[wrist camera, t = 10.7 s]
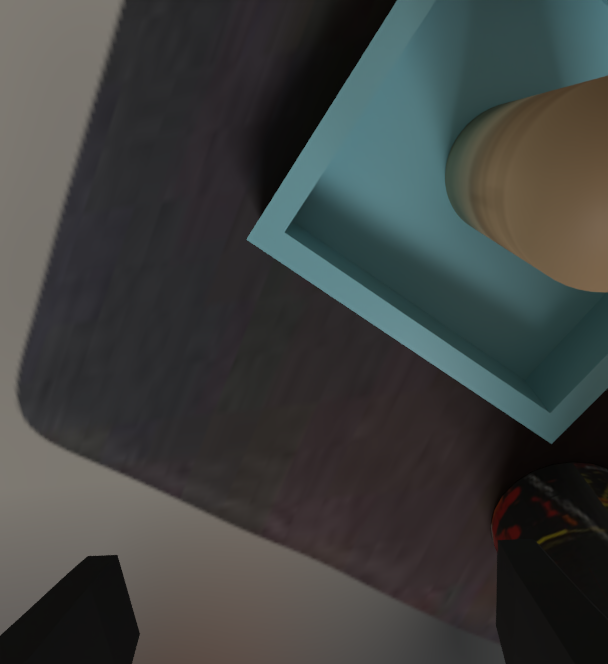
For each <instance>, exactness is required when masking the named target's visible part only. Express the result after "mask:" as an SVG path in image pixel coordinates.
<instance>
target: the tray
mask: <svg viewBox="0 0 608 664" xmlns="http://www.w3.org/2000/svg"><path fill="white" fill-rule="evenodd" d="M604 76H608V0H397V1H396V3H395V5H394V6H393V8H392V9H391V11H390V12H389V14H388V16H387V17H386V19H385V20H384V22H383V24H382V25H381V27H380V28H379V30H378V31H377V33H376V35H375V36H374V38H373V39H372V41H371V43H370V44H369V46H368V47H367V49H366V51H365V52H364V54H363V55H362V57H361V58H360V60H359V62H358V63H357V65H356V66H355V68H354V70H353V71H352V73H351V74H350V76H349V78H348V79H347V81H346V82H345V84H344V85H343V87H342V89H341V90H340V92H339V93H338V95H337V97H336V98H335V100H334V101H333V103H332V105H331V106H330V108H329V109H328V111H327V112H326V114H325V116H324V117H323V119H322V120H321V122H320V124H319V125H318V127H317V128H316V130H315V132H314V133H313V135H312V136H311V138H310V139H309V141H308V143H307V144H306V146H305V147H304V149H303V151H302V152H301V154H300V155H299V157H298V158H297V160H296V162H295V163H294V165H293V166H292V168H291V170H290V171H289V173H288V174H287V176H286V178H285V179H284V181H283V182H282V184H281V185H280V187H279V189H278V190H277V192H276V193H275V195H274V197H273V198H272V200H271V201H270V203H269V205H268V206H267V208H266V209H265V211H264V212H263V214H262V216H261V217H260V219H259V220H258V222H257V224H256V225H255V227H254V228H253V230H252V232H251V233H250V235H249V236H248V238H247V239H246V240H248V241H249V242H251V243H252V244H254V245H255V246H257V247H258V248H260V249H261V250H263V251H264V252H266V253H267V254H269V255H270V256H272V257H273V258H275V259H276V260H278V261H279V262H281V263H282V264H284V265H285V266H287V267H288V268H290V269H291V270H293V271H294V272H296V273H297V274H299V275H300V276H302V277H303V278H305V279H306V280H308V281H309V282H311V283H312V284H314V285H315V286H317V287H318V288H320V289H321V290H323V291H324V292H326V293H327V294H329V295H330V296H332V297H333V298H335V299H336V300H337V301H339V302H340V303H342V304H343V305H345V306H346V307H348V308H349V309H351V310H352V311H354V312H355V313H357V314H358V315H360V316H361V317H363V318H364V319H366V320H367V321H369V322H370V323H372V324H373V325H375V326H376V327H378V328H379V329H381V330H382V331H384V332H385V333H387V334H388V335H390V336H391V337H393V338H394V339H396V340H397V341H399V342H400V343H402V344H403V345H405V346H406V347H408V348H409V349H411V350H412V351H414V352H415V353H417V354H418V355H420V356H421V357H423V358H424V359H426V360H427V361H428V362H430V363H431V364H433V365H434V366H436V367H437V368H439V369H440V370H442V371H443V372H445V373H446V374H448V375H449V376H451V377H452V378H454V379H455V380H457V381H458V382H460V383H461V384H463V385H464V386H466V387H467V388H469V389H470V390H472V391H473V392H475V393H476V394H478V395H479V396H481V397H482V398H484V399H485V400H487V401H488V402H490V403H491V404H493V405H494V406H496V407H497V408H499V409H500V410H502V411H503V412H505V413H506V414H508V415H509V416H511V417H512V418H514V419H515V420H517V421H518V422H520V423H521V424H522V425H524V426H525V427H527V428H528V429H530V430H531V431H533V432H534V433H536V434H537V435H539V436H540V437H542V438H543V439H545V440H546V441H548V442H549V443H551V444H552V443H553V442H554V441H555V440H556V439H557V438H558V437H559V436H560V435H561V434H562V433H563V432H564V431H565V430H566V429H567V428H568V427H569V426H570V425H571V424H572V423H573V422H574V421H575V420H576V419H577V418H578V417H579V416H580V415H581V414H582V413H583V412H584V411H585V410H586V409H587V408H588V407H589V406H590V405H591V404H592V403H593V402H594V401H595V400H596V399H597V398H598V397H599V396H600V395H601V394H602V393H603V392H604V391H605V390H606V389H607V388H608V292H590V291H584V290H579V289H575V288H572V287H569V286H566V285H564V284H562V283H560V282H558V281H555V280H554V279H552V278H551V277H549V276H547V275H546V274H544V273H543V272H541V271H540V270H538V269H536V268H535V267H533V266H532V265H530V264H529V263H527V262H526V261H524V260H522V259H521V258H519V257H518V256H516V255H515V254H513V253H511V252H510V251H508V250H507V249H505V248H504V247H502V246H500V245H499V244H497V243H496V242H494V241H493V240H491V239H490V238H488V237H486V236H485V235H483V234H482V233H480V232H479V231H477V230H475V229H474V228H472V227H471V226H469V225H468V224H466V223H465V222H464V221H463V220H462V219H461V218H460V217H459V216H458V214H457V213H456V212H455V210H454V209H453V207H452V205H451V203H450V201H449V198H448V195H447V191H446V185H445V169H446V163H447V159H448V155H449V153H450V150H451V147H452V146H453V144H454V142H455V140H456V138H457V137H458V135H459V134H460V132H461V131H462V130H463V129H464V128H465V126H466V125H467V124H468V123H469V122H471V121H472V120H473V119H474V118H475V117H477V116H478V115H479V114H481V113H482V112H484V111H486V110H488V109H490V108H492V107H495V106H497V105H500V104H504V103H508V102H512V101H515V100H519V99H523V98H526V97H530V96H534V95H537V94H541V93H545V92H549V91H552V90H556V89H560V88H563V87H567V86H571V85H574V84H578V83H582V82H586V81H589V80H593V79H597V78H600V77H604Z"/></svg>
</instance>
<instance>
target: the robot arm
mask: <svg viewBox="0 0 608 664" xmlns="http://www.w3.org/2000/svg"><path fill="white" fill-rule="evenodd" d="M496 627H497V631H498V635H499V639H500V643H501V647H502V651H503V654H504V658H505V662H506V664H608V618H607V617H606V616H605V615H604V614H603V613H602V612H601V611H600V610H599V609H598V608H597V607H596V606H595V605H594V604H593V603H592V602H591V601H590V600H589V598H588V597H587V596H586V595H585V594H584V593H583V592H582V591H581V590H580V589H579V588H578V587H577V586H576V585H575V584H574V583H573V581H572V580H571V579H570V578H569V577H568V576H567V575H566V574H565V573H564V572H563V571H562V569H561V568H560V567H559V566H558V565H557V564H556V563H555V562H554V561H553V559H552V558H551V557H550V556H549V555H548V554H547V553H546V552H545V551H544V549H543V548H542V547H541V546H540V545H539V544H538V543H537V542H536V541H535V540H534V539H513V540H498V551H497V606H496ZM139 635H140V633H139V629H138V626H137V622H136V619H135V615H134V612H133V608H132V605H131V601H130V598H129V594H128V591H127V587H126V584H125V581H124V577H123V573H122V570H121V566H120V562H119V560H118V556H117V555H106V556H88V557H86V558H85V559H84V560H83V561H82V562H81V563H79V564H78V565H77V566H76V567H75V568H74V569H73V570H71V571H70V572H69V573H68V574H67V575H66V576H65V577H64V578H63V579H61V580H60V581H59V582H58V583H57V584H56V585H55V586H54V587H53V588H52V589H51V590H50V591H48V592H47V593H46V594H45V595H44V596H43V597H42V598H41V599H40V600H39V601H38V602H37V603H36V604H34V605H33V606H32V607H31V608H30V609H29V610H28V611H27V612H26V613H25V614H24V615H22V616H21V617H20V618H19V619H18V620H17V621H16V622H15V623H14V624H13V625H11V626H10V627H9V628H8V629H7V630H6V631H5V632H4V633H3V634H2V635H1V636H0V664H132V661H133V657H134V654H135V650H136V646H137V642H138V639H139Z"/></svg>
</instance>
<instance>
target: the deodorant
mask: <svg viewBox="0 0 608 664" xmlns="http://www.w3.org/2000/svg"><path fill="white" fill-rule="evenodd" d="M491 531H492V540H493V543H494V546H495V548H496V551H498V540H513V539H534V540H535V541H536V542H537V543H538V544H539V545H540V546H541V547H542V548H543V549H544V551H545V552H546V553H547V554H548V555H549V556H550V557H551V558H552V559H553V561H554V562H555V563H556V564H557V565H558V566H559V567H560V568H561V569H562V571H563V572H564V573H565V574H566V575H567V576H568V577H569V578H570V579H571V580H572V581H573V583H574V584H575V585H576V586H577V587H578V588H579V589H580V590H581V591H582V592H583V593H584V594H585V595H586V596H587V597H588V598H589V600H590V601H591V602H592V603H593V604H594V605H595V606H596V607H597V608H598V609H599V610H600V611H601V612H602V613H603V614H604V615H605V616H606V617H607V618H608V469H607V468H604V467H601V466H598V465H595V464H589V463H576V462H570V463H563V464H555V465H550V466H547V467H545V468H542V469H539V470H536V471H534V472H531V473H530V474H528V475H527V476H525V477H523V478H522V479H520V480H519V481H517V482H516V483H515V484H514V485H513V486H512V487H511V488H510V489H509V490H508V491H507V492H506V493H505V494H504V495H503V496H502V497H501V499H500V501H499V503H498V505H497V506H496V508H495V510H494V514H493V518H492V523H491Z"/></svg>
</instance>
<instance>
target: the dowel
mask: <svg viewBox="0 0 608 664" xmlns="http://www.w3.org/2000/svg"><path fill="white" fill-rule="evenodd" d="M445 185H446V191H447V195H448V198H449V201H450V203H451V205H452V207H453V209H454V210H455V212H456V213H457V214H458V216H459V217H460V218H461V219H462V220H463V221H464V222H465V223H466V224H468V225H469V226H471V227H472V228H474V229H475V230H477V231H479V232H480V233H482V234H483V235H485V236H486V237H488V238H490V239H491V240H493V241H494V242H496V243H497V244H499V245H500V246H502V247H504V248H505V249H507V250H508V251H510V252H511V253H513V254H515V255H516V256H518V257H519V258H521V259H522V260H524V261H526V262H527V263H529V264H530V265H532V266H533V267H535V268H536V269H538V270H540V271H541V272H543V273H544V274H546V275H547V276H549V277H551V278H552V279H554V280H555V281H558V282H560V283H562V284H564V285H566V286H569V287H572V288H575V289H579V290H584V291H590V292H608V76H604V77H600V78H597V79H593V80H589V81H586V82H582V83H578V84H574V85H571V86H567V87H563V88H560V89H556V90H552V91H549V92H545V93H541V94H537V95H534V96H530V97H526V98H523V99H519V100H515V101H512V102H508V103H504V104H500V105H497V106H495V107H492V108H490V109H488V110H486V111H484V112H482V113H481V114H479V115H478V116H477V117H475V118H474V119H473V120H472V121H471V122H469V123H468V124H467V125H466V126H465V128H464V129H463V130H462V131H461V132H460V134H459V135H458V137H457V138H456V140H455V142H454V144H453V146H452V147H451V150H450V153H449V155H448V159H447V163H446V169H445Z"/></svg>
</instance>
